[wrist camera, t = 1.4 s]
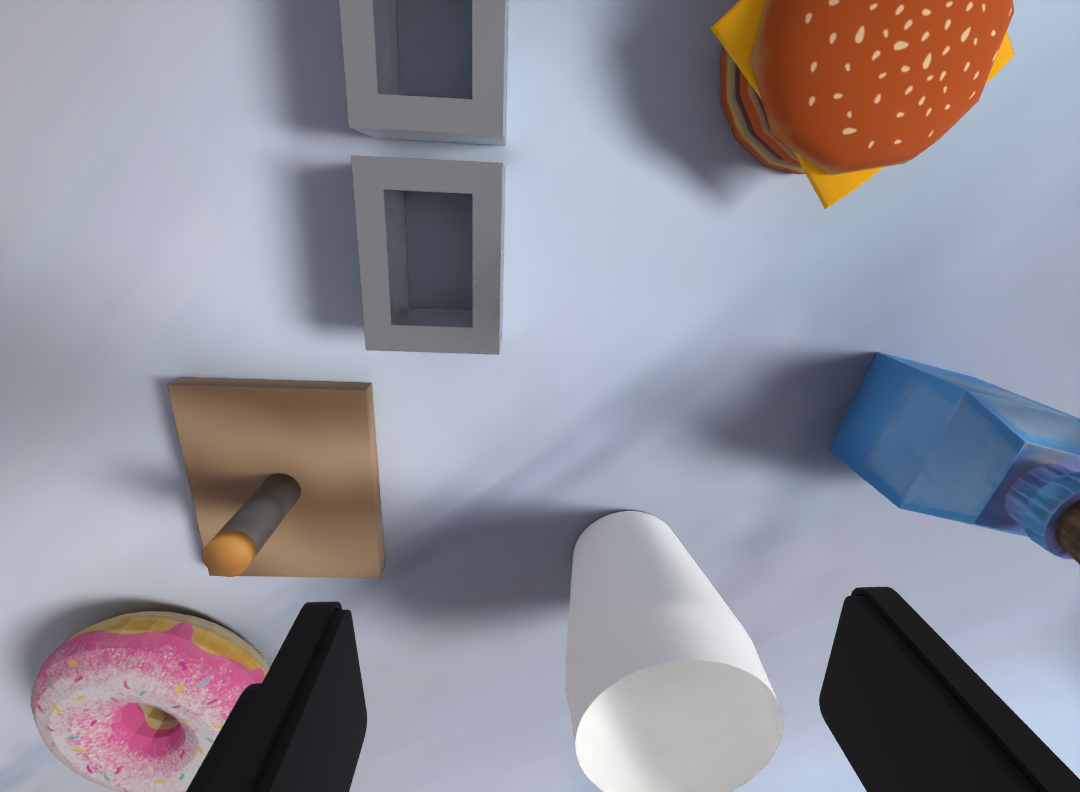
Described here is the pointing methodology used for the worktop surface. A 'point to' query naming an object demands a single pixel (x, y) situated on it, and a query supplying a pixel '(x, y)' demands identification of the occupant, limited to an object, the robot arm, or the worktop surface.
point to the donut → (142, 698)
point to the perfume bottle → (965, 452)
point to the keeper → (282, 476)
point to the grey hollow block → (419, 117)
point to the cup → (660, 668)
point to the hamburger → (854, 80)
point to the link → (387, 255)
